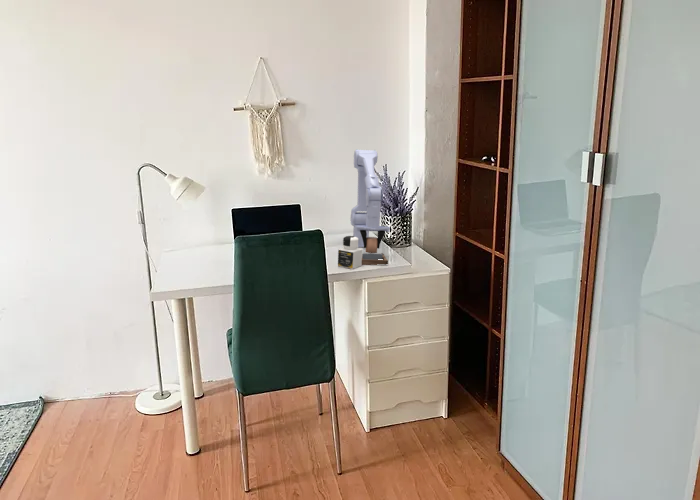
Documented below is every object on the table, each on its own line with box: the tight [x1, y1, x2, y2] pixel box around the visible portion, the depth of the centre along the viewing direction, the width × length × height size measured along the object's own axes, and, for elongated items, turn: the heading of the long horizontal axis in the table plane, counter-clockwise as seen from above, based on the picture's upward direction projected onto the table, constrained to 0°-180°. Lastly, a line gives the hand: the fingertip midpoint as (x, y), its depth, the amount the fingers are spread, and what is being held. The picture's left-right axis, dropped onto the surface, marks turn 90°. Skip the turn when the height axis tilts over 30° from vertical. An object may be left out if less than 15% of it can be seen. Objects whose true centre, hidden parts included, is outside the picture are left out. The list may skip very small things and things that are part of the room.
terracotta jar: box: [364, 236, 378, 254], centre depth 250 cm, size 5×5×6 cm
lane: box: [361, 252, 389, 266], centre depth 246 cm, size 14×11×2 cm
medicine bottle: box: [337, 235, 363, 270], centre depth 235 cm, size 7×7×12 cm
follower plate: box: [362, 252, 382, 260], centre depth 247 cm, size 1×8×2 cm, turn 95°
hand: (371, 247), depth 250 cm, fingers closed on terracotta jar, 5 cm apart
